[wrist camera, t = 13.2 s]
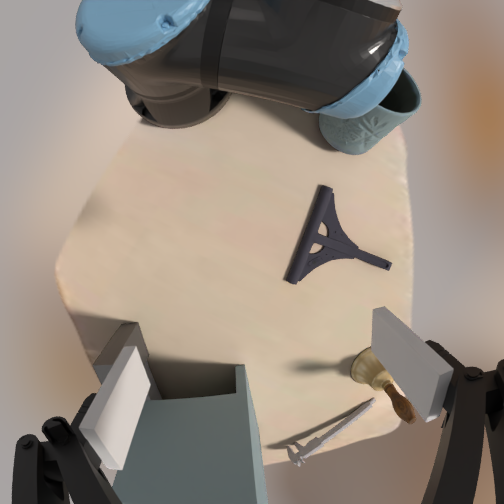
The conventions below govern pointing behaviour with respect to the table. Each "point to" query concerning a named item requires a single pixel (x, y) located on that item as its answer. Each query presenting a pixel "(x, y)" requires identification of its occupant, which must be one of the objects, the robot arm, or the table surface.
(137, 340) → the grey l-bracket
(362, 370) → the hand bell
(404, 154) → the table surface
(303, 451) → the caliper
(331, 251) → the dark squeegee
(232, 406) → the cabinet
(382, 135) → the grey-green hollow cylinder
